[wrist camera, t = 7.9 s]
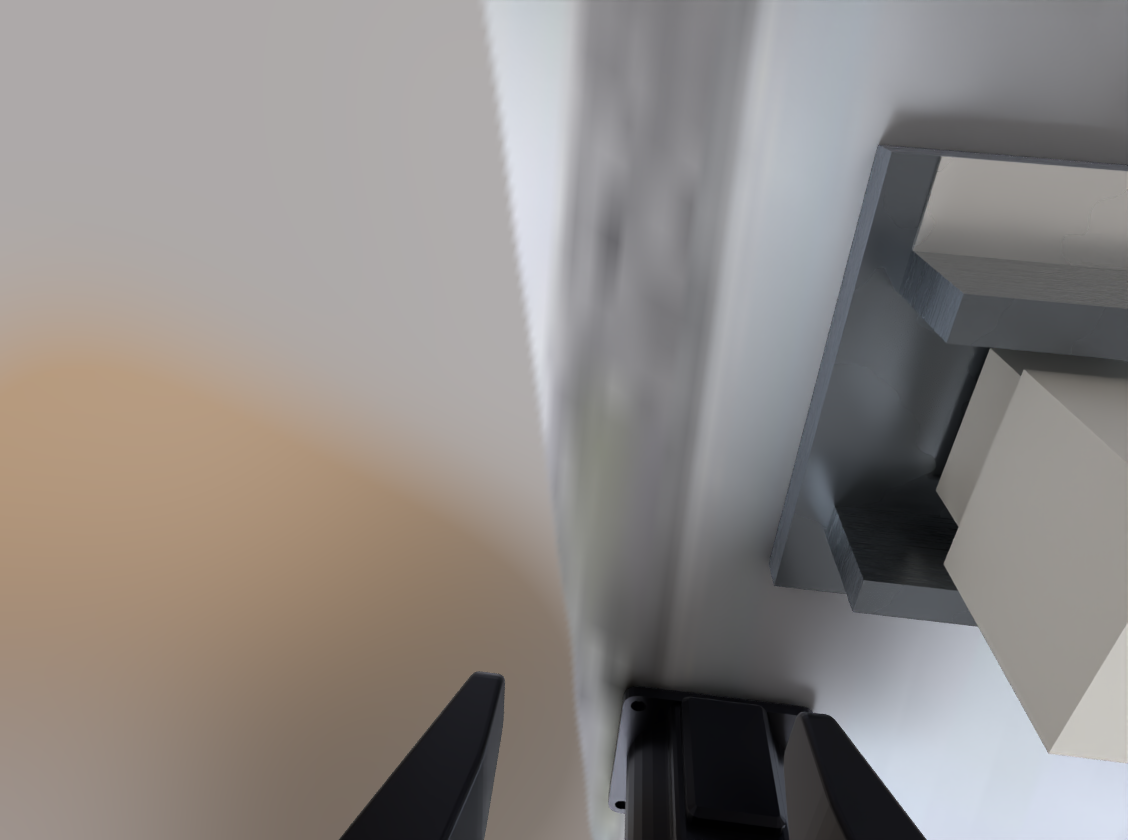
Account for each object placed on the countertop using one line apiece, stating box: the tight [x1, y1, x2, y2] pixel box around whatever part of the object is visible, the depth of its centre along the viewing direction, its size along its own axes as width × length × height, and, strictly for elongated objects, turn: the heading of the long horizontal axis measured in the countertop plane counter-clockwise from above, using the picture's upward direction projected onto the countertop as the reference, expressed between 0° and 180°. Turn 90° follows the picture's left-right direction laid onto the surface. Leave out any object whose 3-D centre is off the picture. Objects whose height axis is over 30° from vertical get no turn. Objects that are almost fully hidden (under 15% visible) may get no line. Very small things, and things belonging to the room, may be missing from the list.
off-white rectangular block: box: [936, 348, 1128, 763], centre depth 14 cm, size 5×4×7 cm
